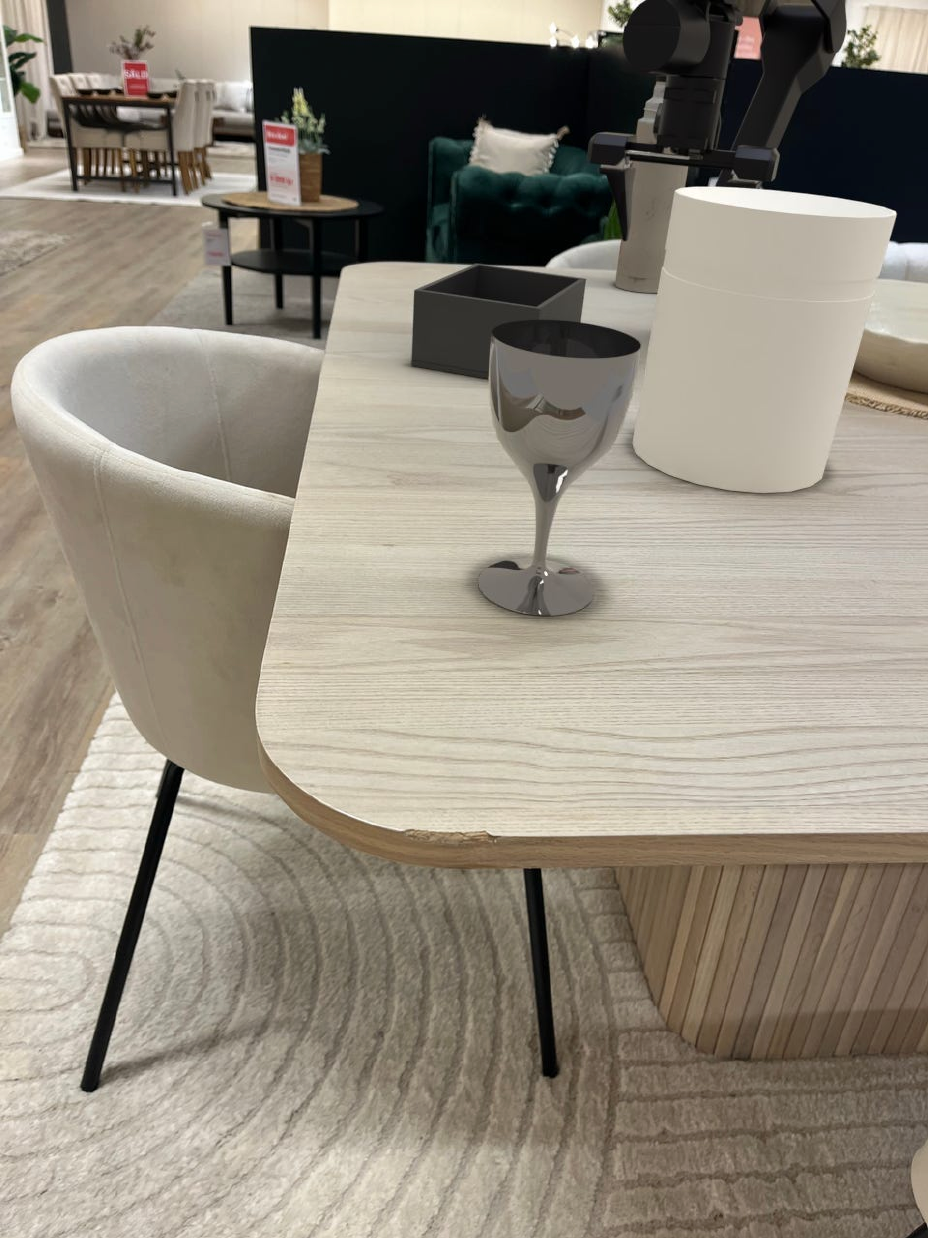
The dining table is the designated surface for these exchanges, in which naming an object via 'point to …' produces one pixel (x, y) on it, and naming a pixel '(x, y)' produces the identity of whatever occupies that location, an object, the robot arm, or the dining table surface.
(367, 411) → the dining table surface
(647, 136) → the thermos bottle
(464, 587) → the dining table surface
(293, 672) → the dining table surface
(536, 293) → the bin
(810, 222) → the canister
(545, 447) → the wine glass
